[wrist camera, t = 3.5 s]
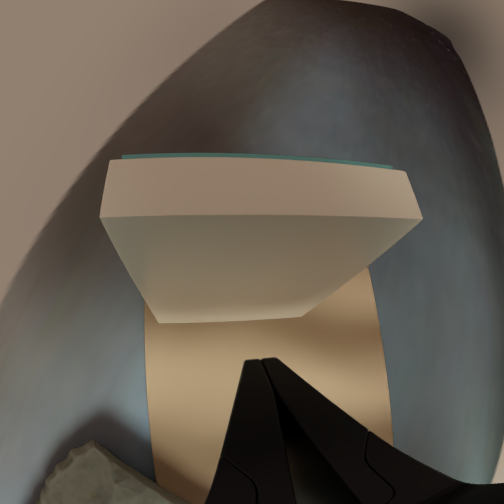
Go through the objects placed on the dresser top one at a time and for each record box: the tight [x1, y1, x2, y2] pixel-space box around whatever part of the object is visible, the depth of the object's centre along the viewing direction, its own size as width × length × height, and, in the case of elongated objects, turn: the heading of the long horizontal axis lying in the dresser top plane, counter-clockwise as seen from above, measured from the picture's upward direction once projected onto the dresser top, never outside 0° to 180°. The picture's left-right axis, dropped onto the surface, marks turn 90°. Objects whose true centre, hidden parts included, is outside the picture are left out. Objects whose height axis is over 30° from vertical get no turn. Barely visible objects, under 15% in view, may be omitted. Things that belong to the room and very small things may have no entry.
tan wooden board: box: [145, 266, 393, 504], centre depth 16 cm, size 18×12×1 cm
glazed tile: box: [99, 153, 423, 323], centre depth 11 cm, size 2×7×10 cm, turn 95°
